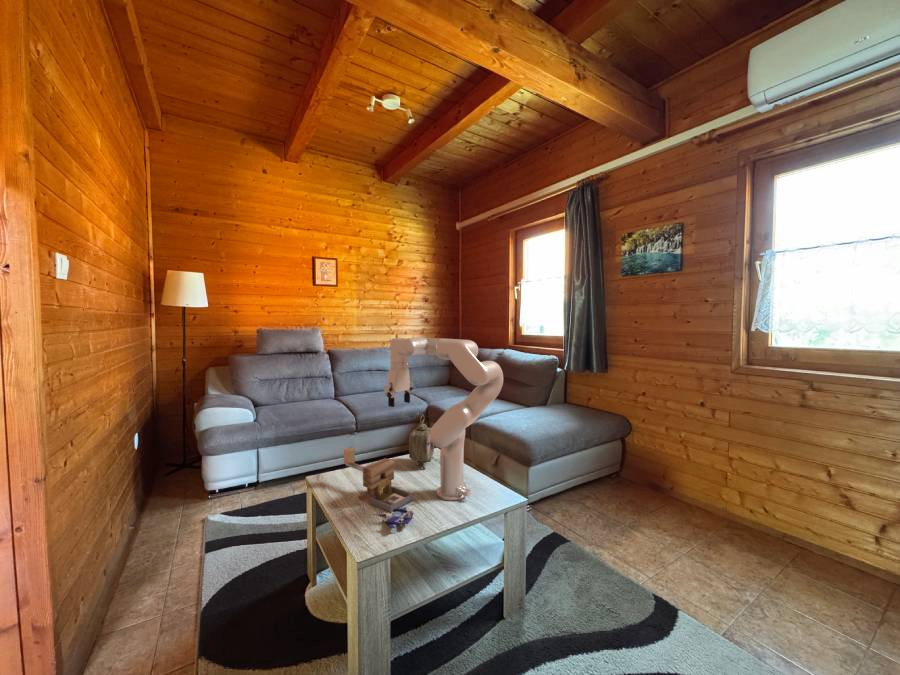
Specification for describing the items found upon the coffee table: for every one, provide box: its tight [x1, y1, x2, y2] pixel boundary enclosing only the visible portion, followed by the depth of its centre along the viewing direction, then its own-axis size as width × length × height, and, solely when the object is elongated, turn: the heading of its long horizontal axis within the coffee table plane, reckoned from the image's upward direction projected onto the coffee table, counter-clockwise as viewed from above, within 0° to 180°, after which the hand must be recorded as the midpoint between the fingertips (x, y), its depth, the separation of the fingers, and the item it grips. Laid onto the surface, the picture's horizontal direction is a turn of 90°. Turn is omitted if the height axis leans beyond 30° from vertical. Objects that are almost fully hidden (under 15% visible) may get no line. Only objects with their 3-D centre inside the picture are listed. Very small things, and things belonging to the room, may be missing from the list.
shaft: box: [343, 447, 382, 478], centre depth 153 cm, size 22×4×8 cm, turn 53°
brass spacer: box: [378, 480, 392, 501], centre depth 146 cm, size 1×6×6 cm, turn 142°
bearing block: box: [357, 457, 395, 504], centre depth 148 cm, size 8×12×14 cm
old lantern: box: [408, 414, 435, 470], centre depth 180 cm, size 14×9×25 cm, turn 168°
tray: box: [369, 485, 414, 514], centre depth 143 cm, size 12×12×2 cm
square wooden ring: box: [383, 493, 405, 506], centre depth 142 cm, size 1×6×6 cm
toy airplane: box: [371, 506, 414, 529], centre depth 128 cm, size 13×14×4 cm
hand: (399, 404), depth 161 cm, fingers open, 9 cm apart
